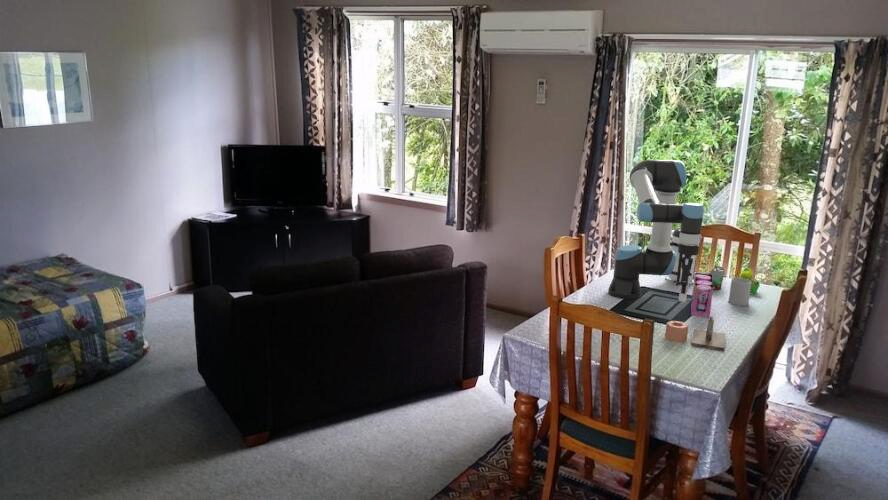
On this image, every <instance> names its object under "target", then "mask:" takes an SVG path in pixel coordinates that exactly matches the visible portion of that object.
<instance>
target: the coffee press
mask: <svg viewBox="0 0 888 500" xmlns="http://www.w3.org/2000/svg"><path fill="white" fill-rule="evenodd" d="M680 230H681V227H679V228H676V229H675V230H673V232H671V237H672V239H671V241H670V246H671V247H672V248H673V251H674V252H675V254H676V259H675V260H676V261H675V266H674V269H673V271H672V273H671V274H669V275H668V278H667V277H665V278H664V279H665V280H666V281H668V280H671V281H674V282H675V286H678V287H680V285H679V283H680V282H681V277H682V257H685V255H684V254H680V253H679V252H678V247H679V243H680V242H679V236H680ZM697 256H698V255H692V256H691V258H693V262H692V266H691V270H690V273H692V275H691V276H690V278H689V283H691V284H692V285H693V284H694V276H695V273H696V266H697V265H696V264H697Z"/></svg>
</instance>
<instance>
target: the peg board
mask: <svg viewBox="0 0 888 500" xmlns="http://www.w3.org/2000/svg"><path fill="white" fill-rule="evenodd" d="M714 323H715V320H714V315H713V316H712V315H710V317H709V319H707V323H706V324H707V325H706V330H704V329H698V328H696V329H695V328H693V331H692V336H691V337H692V338H691V343H690V346H691V347H698V348H704V349H709V350H710V349H711V350H716V351H722V352H725V349H726V348H725V347H726V333H722V332H717V331H714Z"/></svg>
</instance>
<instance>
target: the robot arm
mask: <svg viewBox="0 0 888 500" xmlns="http://www.w3.org/2000/svg"><path fill="white" fill-rule="evenodd" d="M628 179H629V183H630V185H631V186H632V187H633V189H634V190H635V194H636V197H637V199H638V203H639V204H638V205H637V209H636V218H637V221H639V222H642V223H643V222H644V223H652V229H651V238H650V242H649V243H648V244H646V249H643V247H642V246H640V245H634V244H629V245H628V244H627V245H622V246H619V247H618V248H617V249H616V250H615V256H614V267H613V268H614V269H613V277H612V280H611V282H610V285H609V287H608V291H607V294H608V295H609V296H611V297H612V298H616V299H622V300H637V299H640V298H641V297H642V288H641V284H640V275H644V276H645V275H650V276H669V274H671V273H672V271H673V269H674V266H675V261H676V260H675V259H676V254H675V252H674V251H673V248H672V247H671V246H670V242H671V241H672V239H671V237H672V233H673V232H672V231H673V230H672V229H673V225H674V224H680V228H681V230H680V236H679V242H680V243H679V247H678V252H679V253H680V254H684V255H685V257H682V277H681V282H680V283H679V291H678V292H679V294H678V302H683V303H685V302H687V298H688V297H687V296H688V292H689V287H690V282H689V278H690V276H691V275H692V273H690V270H691V266H692V262H693V258H691V256H692V255H697V256H698V255H699V253H700V245H699V244H700V242H701V239H703V236H702V234H701V233H702V228H703V227H702V225H703V218H704V205H703V204H700V203H696V202H681V203H676V201H677V200H676V199H677V195H678V194H679V193H681V190H682V188H684V187H686V184H687V170H686V165H685V163H684V162H683V161H681V160H674V159H645V160H641V161H640V162H638V163H637V164H635V165H634V167H632V169H631V171H630V172H629V178H628Z"/></svg>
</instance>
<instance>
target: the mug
mask: <svg viewBox="0 0 888 500" xmlns="http://www.w3.org/2000/svg"><path fill="white" fill-rule="evenodd" d="M750 289H751V281H750V280H748V279H745V278H741V277H733V278H731V281H730V288H729V297H728V303H729V304H731V305H734V306H739V307H746V306H748V305H749V303H750V294H751V293H750Z"/></svg>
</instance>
